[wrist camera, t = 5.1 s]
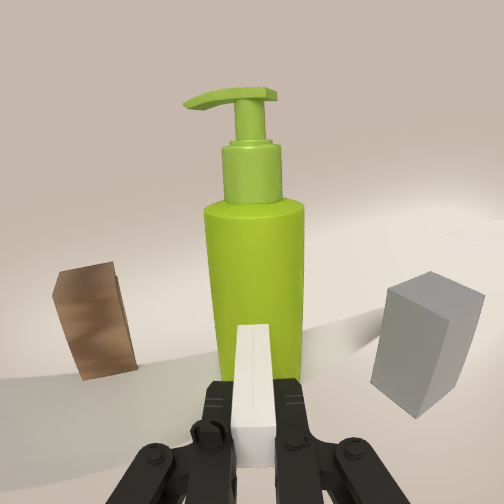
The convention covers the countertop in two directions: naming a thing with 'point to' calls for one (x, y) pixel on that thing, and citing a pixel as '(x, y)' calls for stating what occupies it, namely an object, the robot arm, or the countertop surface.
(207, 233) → the soap dispenser
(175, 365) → the countertop surface
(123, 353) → the brown wooden block
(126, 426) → the countertop surface
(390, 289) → the grey rectangular block
